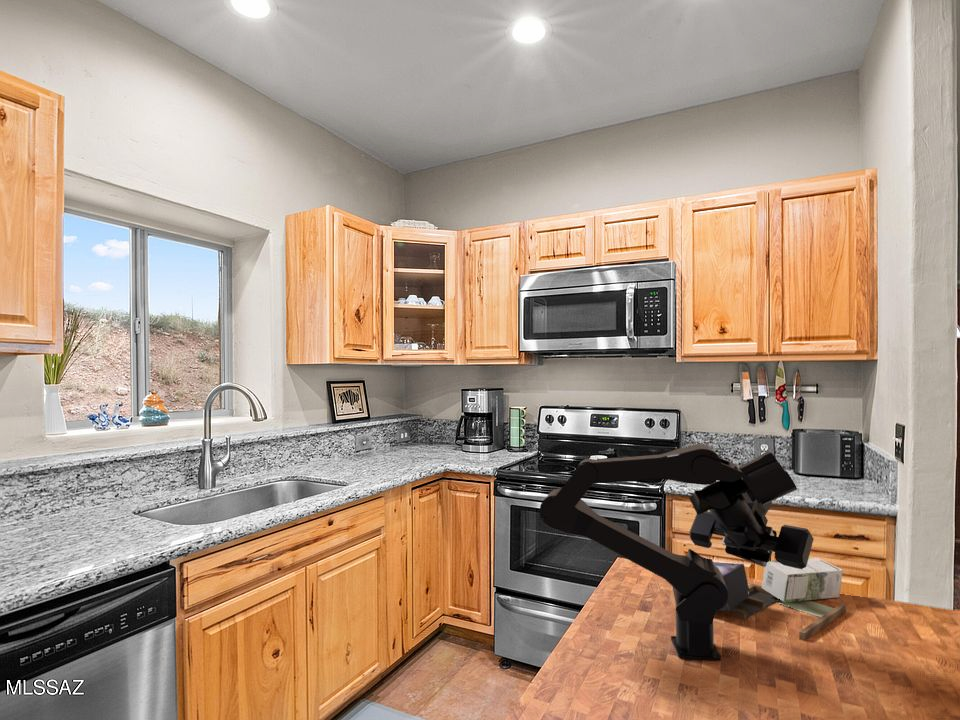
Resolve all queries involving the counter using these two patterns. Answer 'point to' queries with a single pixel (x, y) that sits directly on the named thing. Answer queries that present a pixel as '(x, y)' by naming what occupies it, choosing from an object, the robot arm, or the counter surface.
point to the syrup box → (802, 581)
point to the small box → (733, 583)
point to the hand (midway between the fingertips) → (764, 564)
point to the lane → (763, 599)
